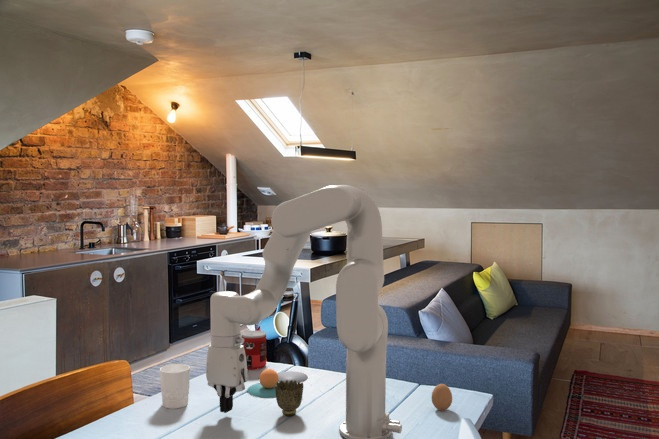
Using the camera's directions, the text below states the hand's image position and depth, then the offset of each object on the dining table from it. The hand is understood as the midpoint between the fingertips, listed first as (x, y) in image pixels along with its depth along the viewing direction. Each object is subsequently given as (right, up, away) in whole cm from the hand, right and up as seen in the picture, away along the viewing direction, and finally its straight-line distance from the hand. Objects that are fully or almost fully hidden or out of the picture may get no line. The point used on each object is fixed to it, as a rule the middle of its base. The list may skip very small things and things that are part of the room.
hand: (226, 410), depth 156 cm
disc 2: (+14, 0, +31) cm, 34 cm away
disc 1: (+9, 0, +20) cm, 22 cm away
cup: (+16, -2, +2) cm, 16 cm away
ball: (+9, +3, +21) cm, 23 cm away
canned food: (+2, +1, +42) cm, 42 cm away
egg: (+56, -2, +5) cm, 56 cm away
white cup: (-15, -1, +9) cm, 17 cm away
